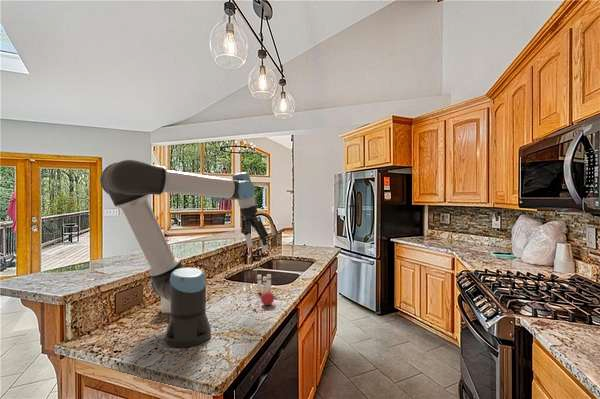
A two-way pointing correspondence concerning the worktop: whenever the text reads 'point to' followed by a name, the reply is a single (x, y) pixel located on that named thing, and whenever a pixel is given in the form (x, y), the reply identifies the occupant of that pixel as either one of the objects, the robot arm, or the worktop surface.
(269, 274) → the pin
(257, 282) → the pin
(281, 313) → the worktop surface
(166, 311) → the jar
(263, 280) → the front pin
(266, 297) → the ball
